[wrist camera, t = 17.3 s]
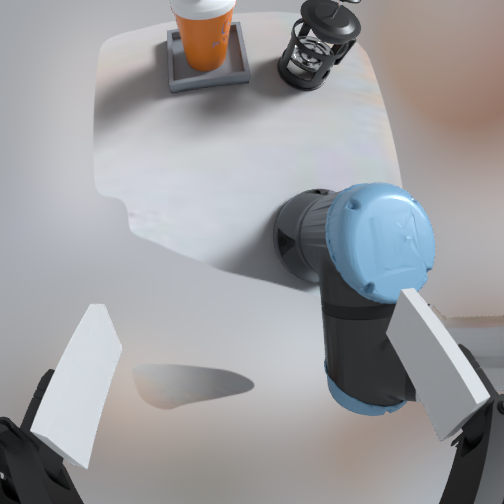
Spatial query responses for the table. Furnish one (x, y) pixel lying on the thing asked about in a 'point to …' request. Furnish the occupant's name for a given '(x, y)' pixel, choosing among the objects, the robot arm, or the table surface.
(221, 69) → the tray
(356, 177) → the table surface
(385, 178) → the table surface
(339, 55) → the french press
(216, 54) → the shaker bottle
